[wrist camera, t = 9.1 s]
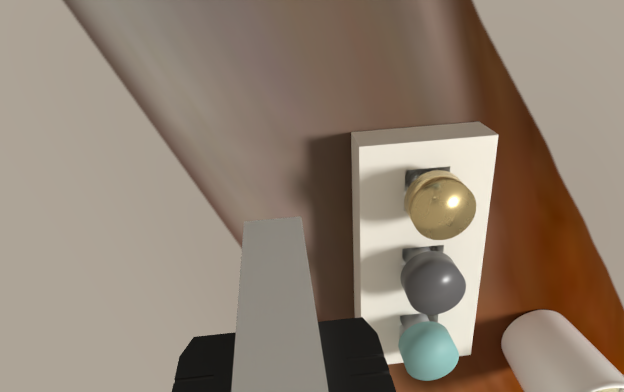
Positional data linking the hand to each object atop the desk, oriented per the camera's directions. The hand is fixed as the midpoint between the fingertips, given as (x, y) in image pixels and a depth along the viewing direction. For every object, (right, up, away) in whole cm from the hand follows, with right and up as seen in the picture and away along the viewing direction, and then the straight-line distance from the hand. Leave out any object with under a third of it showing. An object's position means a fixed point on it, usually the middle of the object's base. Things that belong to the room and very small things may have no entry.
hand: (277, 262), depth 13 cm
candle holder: (+28, -15, +43) cm, 53 cm away
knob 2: (+12, -11, +37) cm, 41 cm away
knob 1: (+11, +3, +31) cm, 33 cm away
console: (+11, -3, +35) cm, 37 cm away
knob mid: (+11, -4, +34) cm, 36 cm away
